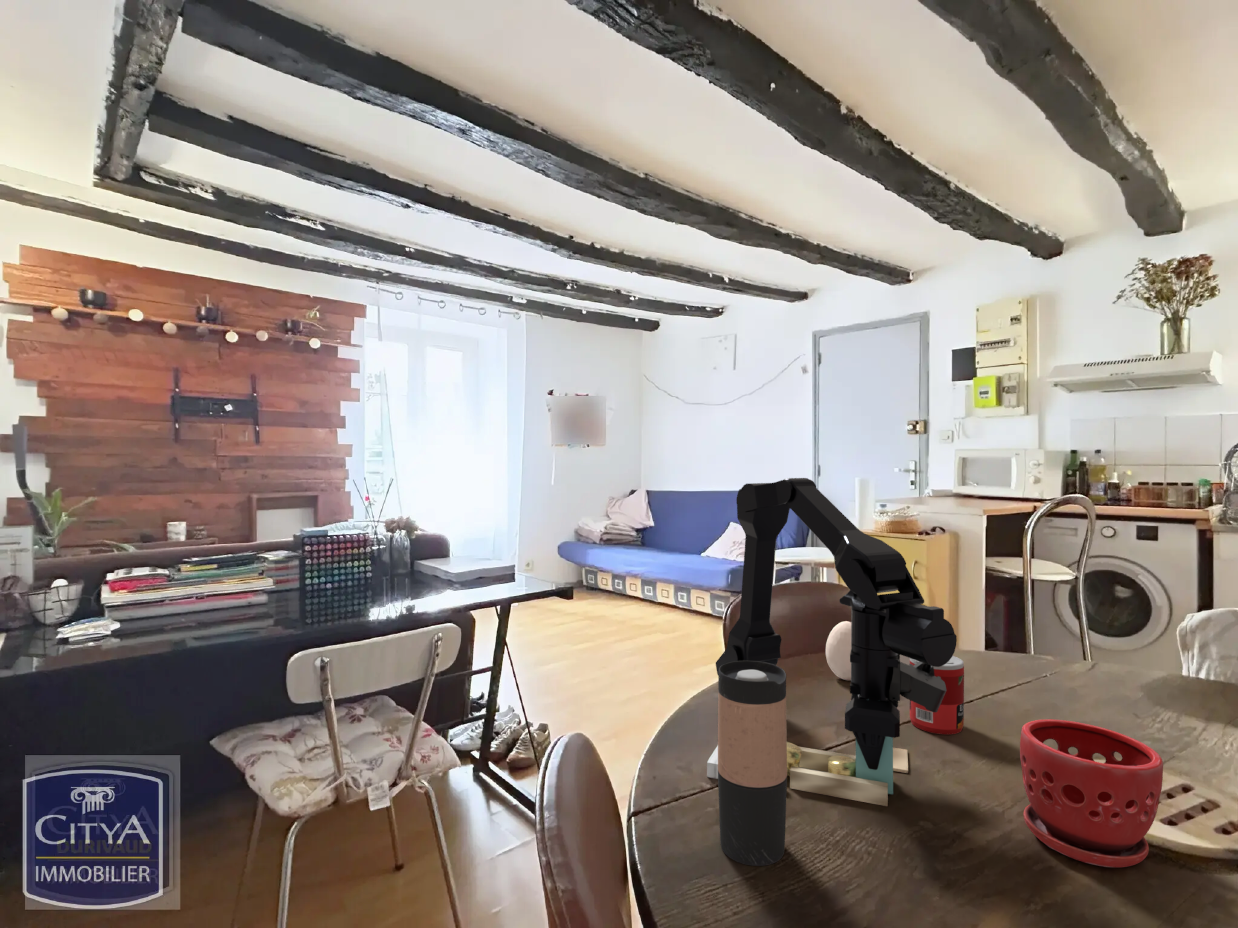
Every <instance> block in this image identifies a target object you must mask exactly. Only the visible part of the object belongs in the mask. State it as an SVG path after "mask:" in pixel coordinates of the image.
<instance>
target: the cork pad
mask: <svg viewBox="0 0 1238 928" xmlns="http://www.w3.org/2000/svg"><path fill="white" fill-rule="evenodd" d="M854 756H856V754H855V755H854ZM893 772H899V773H904V774H908V773H909V761H908V749H904V748H900V747H899V748H898V747H897V748H896V747H893Z"/></svg>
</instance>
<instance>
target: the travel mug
mask: <svg viewBox="0 0 1238 928" xmlns="http://www.w3.org/2000/svg"><path fill="white" fill-rule="evenodd" d="M717 676H718V682H717V683H718V684H717V685H718V688H717V689H718V695H717V696H718V697H717V701H718V702H717V704H718V705H717V745H718V779H717V786H718V790H717V791H718V811H719V814H718V815H719V817H718V818H719V819H718V821H719V839H720V840H719V841H720V847H721V850H722V852H723V853H724V854H725V856H727V857H728V858H729V859H731V860H733V861H735V862H737V863H739V864H742V865H747V866H751V867H752V866H753V867H754V866H755V867H765V866H769V865H772V864H775V863H777V862H778V861H780V860H782V858H783V856H784V854H785V845H786V822H787V821H786V817H787V787H788V776H787V742H788V741H787V739H788V738H787V737H788V735H787V734H788V733H787V673H786V672H785V670H784V669H783V668H781V667H780V666H778V665H777V664H776V665H773V664H770V663H765V662H759V661H734V662H729V663H726V664H723V665H722V666H720V668H719V673H718V674H717Z"/></svg>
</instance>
